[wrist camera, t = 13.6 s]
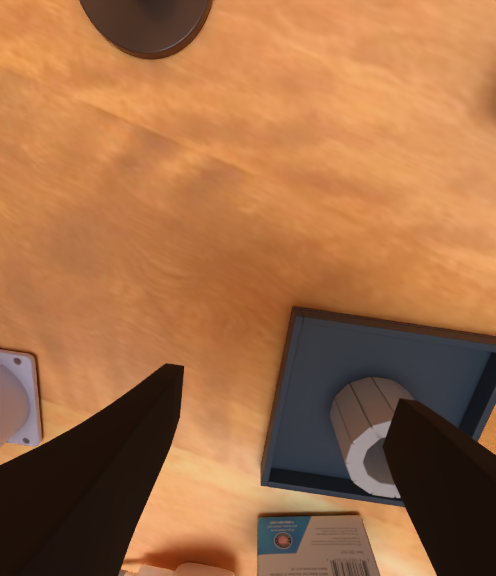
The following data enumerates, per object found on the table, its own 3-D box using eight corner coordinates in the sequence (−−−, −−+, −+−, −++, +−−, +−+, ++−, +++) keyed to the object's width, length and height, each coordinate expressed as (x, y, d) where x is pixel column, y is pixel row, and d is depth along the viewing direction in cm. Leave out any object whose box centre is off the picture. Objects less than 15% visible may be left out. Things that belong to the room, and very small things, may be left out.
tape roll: (322, 437, 21) (336, 490, 17) (340, 371, 19) (360, 413, 15) (398, 448, 21) (429, 504, 17) (422, 383, 19) (463, 428, 15)
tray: (260, 466, 22) (260, 485, 21) (292, 306, 18) (295, 315, 17) (431, 491, 22) (444, 513, 21) (500, 336, 18) (522, 349, 17)
